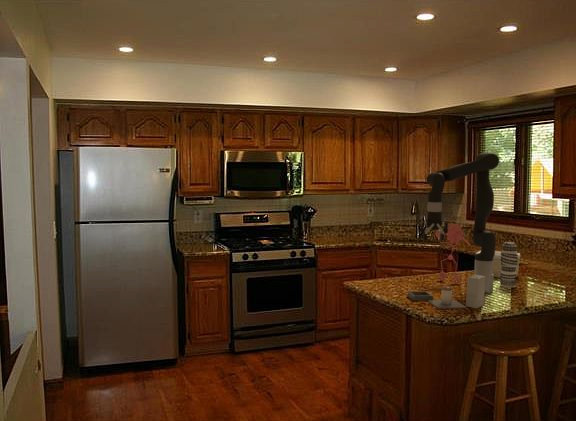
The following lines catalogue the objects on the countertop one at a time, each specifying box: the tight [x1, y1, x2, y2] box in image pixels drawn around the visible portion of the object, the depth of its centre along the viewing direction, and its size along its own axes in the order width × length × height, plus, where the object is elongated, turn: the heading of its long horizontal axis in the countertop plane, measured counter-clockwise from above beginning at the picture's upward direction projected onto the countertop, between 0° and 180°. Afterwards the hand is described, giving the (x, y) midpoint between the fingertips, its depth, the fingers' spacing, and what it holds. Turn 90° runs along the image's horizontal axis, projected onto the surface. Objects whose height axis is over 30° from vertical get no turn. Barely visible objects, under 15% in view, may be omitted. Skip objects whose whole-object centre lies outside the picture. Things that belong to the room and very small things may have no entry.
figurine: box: [435, 222, 472, 285], centre depth 316 cm, size 15×26×35 cm, turn 34°
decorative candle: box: [499, 241, 518, 288], centre depth 308 cm, size 9×9×25 cm
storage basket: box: [475, 250, 521, 279], centre depth 338 cm, size 24×16×15 cm
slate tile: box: [427, 299, 467, 310], centre depth 264 cm, size 14×14×1 cm
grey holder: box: [407, 290, 434, 302], centre depth 276 cm, size 10×10×2 cm
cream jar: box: [440, 285, 453, 305], centre depth 264 cm, size 5×5×8 cm
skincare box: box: [465, 273, 485, 309], centre depth 261 cm, size 8×6×15 cm
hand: (433, 241), depth 285 cm, fingers open, 8 cm apart
